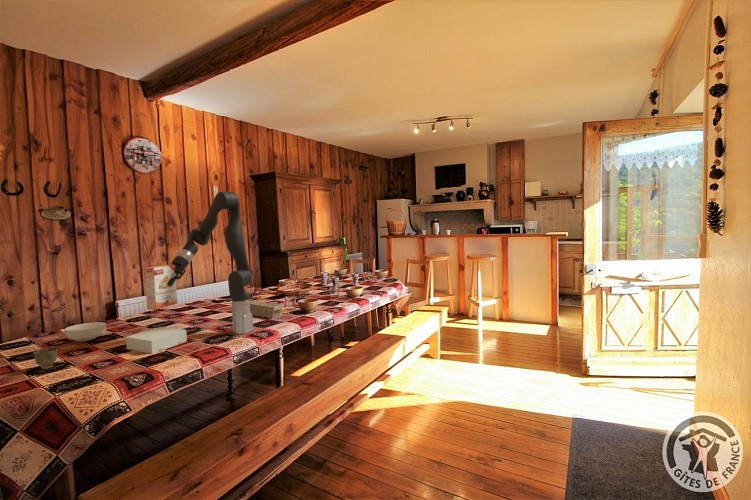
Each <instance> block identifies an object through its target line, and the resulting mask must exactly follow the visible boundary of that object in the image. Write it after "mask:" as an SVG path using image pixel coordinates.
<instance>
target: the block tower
mask: <svg viewBox="0 0 751 500" xmlns="http://www.w3.org/2000/svg"><path fill="white" fill-rule="evenodd" d="M284 306H285V305H284V304H282V303H280V304H279V303H272V302H269V303H268V302H267V301H260V300H250V311H251V313H252V316H254V315H255V317H259V316H261V317H260V318H264V317H267V318H266V319H269V318H275V319H277V318H276V317H279V316H282V315H283V316H284V314H283V310H284V308H285V307H284ZM283 316H282V317H283ZM279 318H280V317H279Z"/></svg>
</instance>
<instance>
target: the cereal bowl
mask: <svg viewBox="0 0 751 500" xmlns="http://www.w3.org/2000/svg"><path fill="white" fill-rule="evenodd" d="M106 328H107V324H106V322H99V321H96V322H95V321H94V322H87V323H86V322H85V323H80V324H76V325H71V326H68V327H66V328H64V335H65V337H66V338H68V339H69V340H73V341H76V342H79V343H80V342H88V341H92V340H95V339H96V338H97V337H99V336H102V334H104V333H105V331H106Z"/></svg>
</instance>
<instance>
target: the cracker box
mask: <svg viewBox="0 0 751 500" xmlns="http://www.w3.org/2000/svg"><path fill="white" fill-rule="evenodd" d="M174 270H175V265H172V264H163V265H155V266H148V267H144V277H145V278H144V279H145V280H144V281H145V297H146V310H151V311H152V310H154V311H155V310H160V309H163V308H166V307H169V306H174V305H177V304H178V293H177V292H178V291H177V280H175V282H174V283H173V284H172V286H169V285H168V284H167V283H168V282H169V280H170V279H171V278H172V273H173V272H174Z"/></svg>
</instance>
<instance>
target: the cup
mask: <svg viewBox="0 0 751 500" xmlns="http://www.w3.org/2000/svg"><path fill="white" fill-rule="evenodd" d="M32 353H33V357H34V360H35V363H36V364H37V366H39V367H40V369H42V370H49V369H52V368H53V366H54V363H55V362H56V361H57V358H58V347H57V346H55V347H54V346H50V347H49V348H48V347H46V348H43V347H41V348H40V349H37V350H36V351H32ZM51 367H52V368H51ZM48 368H49V369H48Z"/></svg>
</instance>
